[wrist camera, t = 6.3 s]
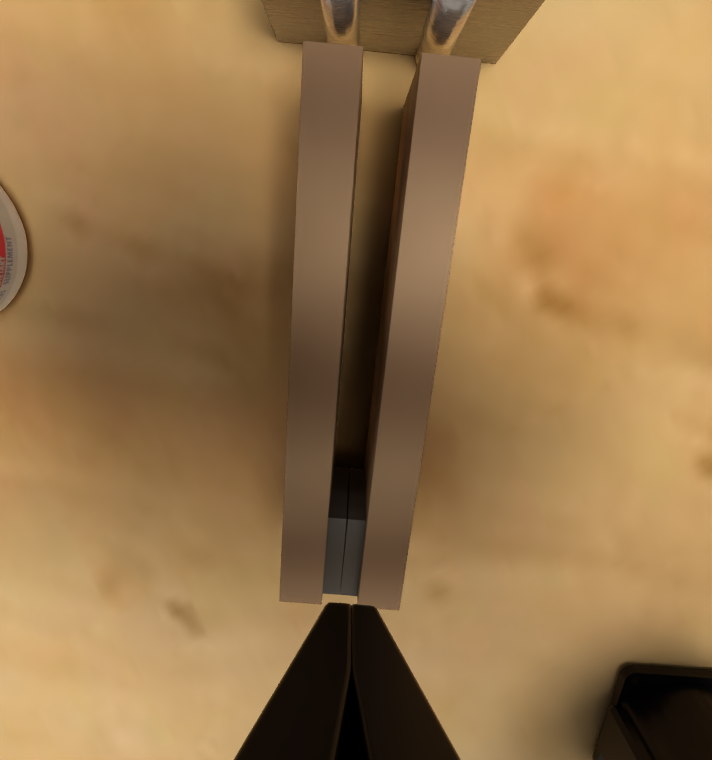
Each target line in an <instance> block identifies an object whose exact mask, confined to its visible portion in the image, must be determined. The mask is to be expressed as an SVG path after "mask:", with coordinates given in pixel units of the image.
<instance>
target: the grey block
mask: <svg viewBox="0 0 712 760" xmlns="http://www.w3.org/2000/svg"><path fill="white" fill-rule="evenodd" d="M544 1H545V0H262V2H263V5H264V7H265V10H266V12H267V15H268V17H269V20H270V22H271V25H272V27H273V30H274V32H275V35H276V37H277V40H278V41H280V42H290V43H299V44H303V41H311V42H322V43H332V44H343V45H353V46H363V50H368V51H377V52H387V53H397V54H407V55H415V61H416V65H417V66H418V63H419V60H420V57H421V54H422V53H431V54H440V55H449V56H459V57H468V58H477V59H481V62H485V63H494V64H496V63H497V61H498V60H499V59H500V57H501V56H502V55H503V54H504V52H505V51H506V50H507V48H508V47H509V46H510V45H511V43H512V42H513V41H514V39H515V38H516V37H517V36H518V34H519V33H520V32H521V30H522V29H523V28H524V27H525V25H526V24H527V23H528V21H529V20H530V19H531V18H532V16H533V15H534V14H535V12H536V11H537V10H538V9H539V7H540V6H541V5H542V3H543V2H544Z"/></svg>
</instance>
